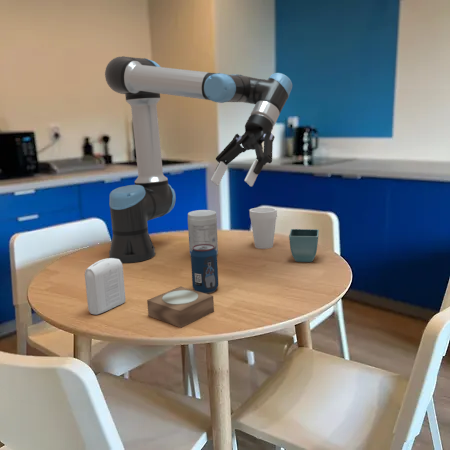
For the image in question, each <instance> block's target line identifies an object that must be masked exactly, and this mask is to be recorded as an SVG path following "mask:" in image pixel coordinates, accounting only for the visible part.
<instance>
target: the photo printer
mask: <svg viewBox="0 0 450 450" xmlns="http://www.w3.org/2000/svg"><path fill="white" fill-rule="evenodd" d="M124 278H125V277H124V265H123V263H121V261H120V260H119V259H115V258H110V257H108V258H102V259H100V260H97V261H95V262H94V263H92V264H91V265H90V266H88V267H87V268H86V269H85V271H84V280H85V290H86V300H87V301H86V302H87V308H88V312H89V313H90V314H92V315H100V314H102V313H105V312H107V311H109V310H112V309H113V308H114V309H115V308H116V307H118V306H120V305H123V304H124V303H126V289H125V279H124Z"/></svg>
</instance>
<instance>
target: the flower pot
mask: <svg viewBox="0 0 450 450" xmlns="http://www.w3.org/2000/svg"><path fill="white" fill-rule="evenodd" d="M319 232H320V230H319V229H317V228H316V229H315V228H314V229H311V228H310V229H305V228H291V229H290V232H289V236H288V240H289V246H290V247H289V248H290V253H291V255H292V257H293V259H294V261H295V262H296V263H297V262H298V263H300V262H301V263H312V262H313V261H314V259H315V258H316V256H317V251H318V246H319V245H318V244H319Z"/></svg>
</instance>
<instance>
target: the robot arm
mask: <svg viewBox="0 0 450 450" xmlns="http://www.w3.org/2000/svg"><path fill="white" fill-rule="evenodd" d="M104 76H105V77H104V78H105V81H106V83H107V85H108V87H109V88H110V89H111V90H112V91H114V92H116V93H117V94H121V95H125V102H126V103H127V104H128V105H129V106H130V107H131V109H130V110H131V118H132V119H131V120H132V128H133V137H134V146H135V147H134V148H135V156H136V157H135V158H136V165H137V175H138V176H137V178H136V179H135V180H134V184H130V185H125V186H123V185H122V186H119V187H116V188H115V189H112V191H110V193H109V203H108V205H109V212H110V220H111V228H112V229H111V231H112V239H111V243H110V247H109V251H108V254H109V257H108V258H115V259H119V260H120V261H121V263H122V264H130V263H137V262H144V261H146V260H150V259H152V258H154V257H155V256H156V248H155V246H154V243H153V241H152V239H151V236H150V233H149V227H148V222H149V221H151V220H154V219H157V218H161V217H163V216H165V215H167V214H169V213H170V212H171V211H172V210H173V209H174V207H175V204H176V199H177V198H176V191H175V189H174V188H172V186H171V185H170V184H169V180H168V177H167V176H165V175H164V171H163V170H164V169H163V159H162V150H161V149H162V148H161V137H160V127H159V119H158V117H159V116H158V109H157V108H158V107H157V106H158V103H159V102H160V100H161V94H163V95H168V96H169V95H170V96H177V97H182V98H183V97H184V98H192V99H199V100H205V101H210V102H211V101H212V102H213V103H217V104H218V103H219V104H223V103H244V104H245V103H246V104H250V105H254V106H253V108H252V110H251V113H250V116H249V117H248V119H247V120H246V123H245V125H244V133H243V134H242V135H239V133H236V134H235V135H234V137H233V138H232V140H231V141H230V142H228V144H227V145H226V146H225V147H224V149H223V150H222V151H220V153H219V154H218V155H217V156H216V157H215V161H217V162H218V164H217V165H216V168H215V169H214V173H213V175H212V176H211V179H210V181H211V182H212V183H213V184H214V185H215V186H219V185H220V184H221V181H222V179H223V178H224V175H225V173H226V171H227V169H228V165H229V164H230V163H231V162H232V161H233V160H235V159H236V158H237V157H238V156H240V154H242V153H245V152H246V151H249V150H252V151H253V150H254V152H255V156H256V158H255V159H254V160H253V163H252V164H251V166H250V168H249V170H248V172H247V173H246V176H245V178H244V182H245V183H247V185H249V187H253V186H254V184H255V182H256V180H257V177H258V175H260V173H261V171H262V169H263V168H264V166H265V165H266V164H267V163H268V164H271V163H272V162H273V149H274V148H273V145H274V144H273V142H274V140H275V135H273V133H272V131H273V129H274V126H275V125H276V122H277V121H278V119H279V116H280V114H281V112H282V110H283V109H284V106H285V104H286V102H287V100H289V97H290V94H291V91H292V89H293V83H292V80H291V79H290V77H289V76H287V75H285V74H284V73H281V72H275V73H272V74H271V75H270V76H269V77H268V79H264V78H256V77H251V76H246V75H242V74H233V73H231V74H229V73H228V74H227V73H220V72H219V73H216V72H209V71H199V70H191V69H183V68H173V67H163V66H161V65H160V64H158V62H156V61H154V60H151V59H148V58H145V57H144V58H141V57H132V56H124V55H123V56H116V57H114V58H112V59H111V60H110V61H109V62H108V63H107V64H106V67H105V72H104Z"/></svg>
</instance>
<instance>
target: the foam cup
mask: <svg viewBox="0 0 450 450" xmlns="http://www.w3.org/2000/svg"><path fill="white" fill-rule="evenodd" d="M249 218H250V223H251V229H252V235H253V242H254V247H255V248H256V249H261V250H262V249H263V250H266V249H271V248H274V243H275V241H274V240H275V232H276V223H277V222H276V221H277V218H278V210H277V208H275V207H266V206H264V207H263V206H261V207H254V208H250V209H249Z"/></svg>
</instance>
